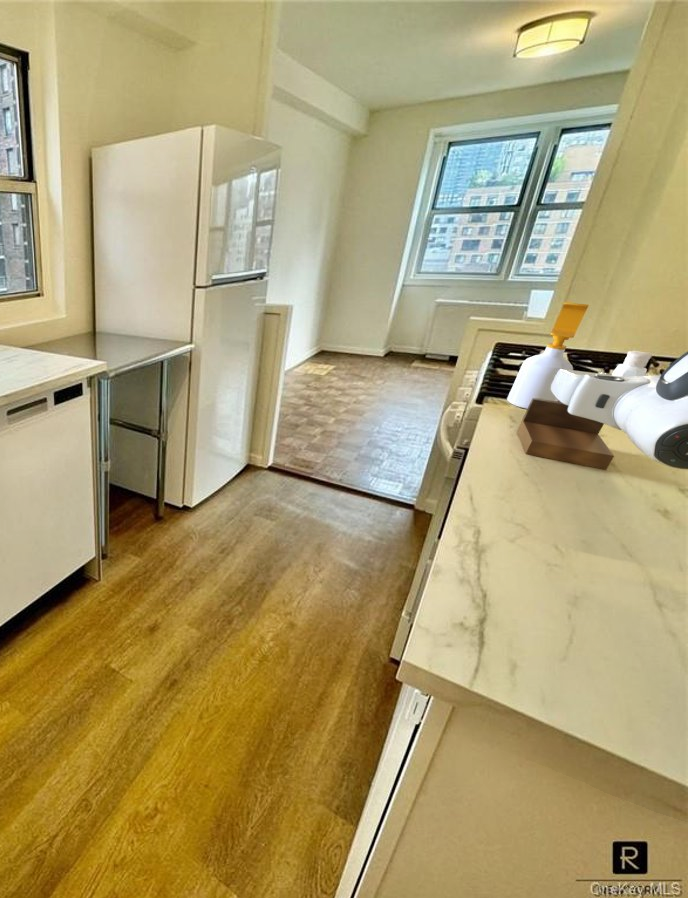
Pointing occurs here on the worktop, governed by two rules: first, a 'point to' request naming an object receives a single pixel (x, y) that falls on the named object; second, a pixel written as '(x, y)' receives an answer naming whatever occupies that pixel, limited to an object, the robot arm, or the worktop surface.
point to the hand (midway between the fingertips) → (622, 379)
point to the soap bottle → (547, 360)
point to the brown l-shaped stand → (562, 435)
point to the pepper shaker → (633, 364)
